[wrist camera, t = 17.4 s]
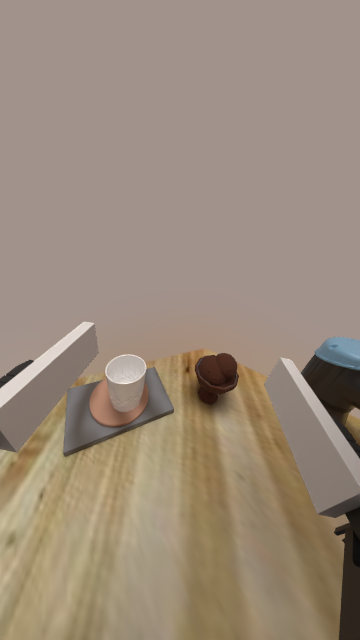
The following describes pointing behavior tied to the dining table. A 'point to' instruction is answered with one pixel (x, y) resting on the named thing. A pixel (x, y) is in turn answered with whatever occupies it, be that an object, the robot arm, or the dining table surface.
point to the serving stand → (109, 412)
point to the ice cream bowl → (216, 376)
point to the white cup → (125, 381)
